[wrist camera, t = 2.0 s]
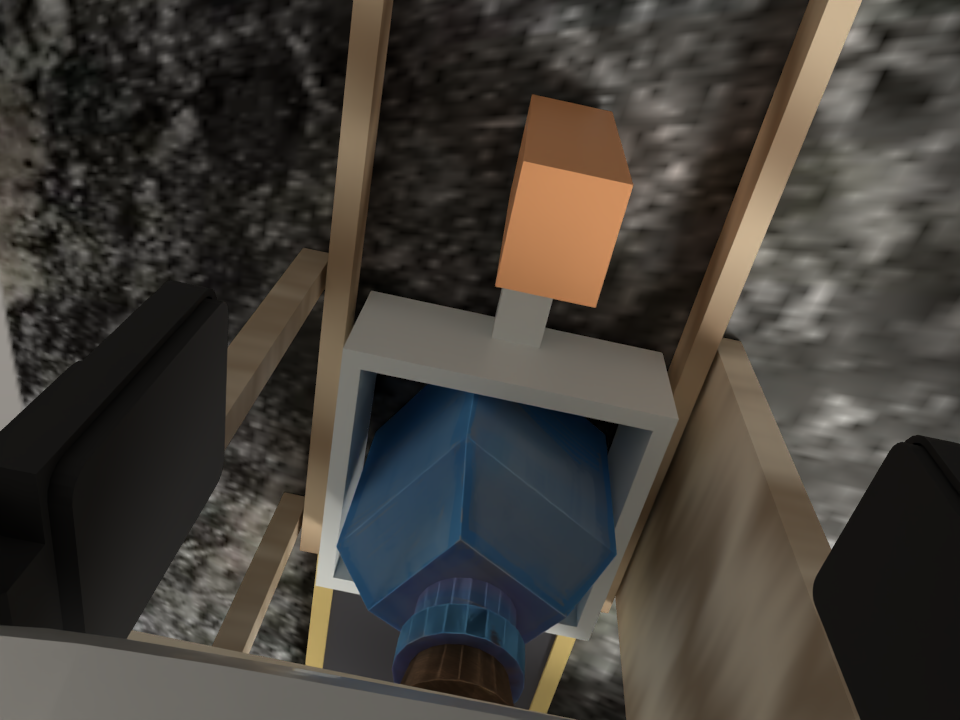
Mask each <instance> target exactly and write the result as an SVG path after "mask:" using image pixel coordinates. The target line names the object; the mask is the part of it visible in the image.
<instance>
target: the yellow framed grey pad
mask: <svg viewBox="0 0 960 720" xmlns="http://www.w3.org/2000/svg"><path fill="white" fill-rule="evenodd" d="M318 558H319V554H318ZM318 558H317V567H318ZM317 567H316V576H317ZM316 576H315V584H316ZM315 584H314V593H313V602H312V610H311V619H310V628H309V637H308V645H307V654H306V663H305V665H307V666H312V667H317V668H322V669H327V670H332V671H337V672H342V673H347V674H352V675H357V676H362V677H367V678H372V679H377V680H382V681H387V682H392V683H394V679H393V673H392V665H393V661H394V656H395V652H396V647H397V642H398V638H399V635H400V631H398V630H397V629H395V628H394V627H392V626H391V625H389V624H388V623H386V622H385V621H383V620H382V619H380V618H379V617H377V616H376V615H374V614H373V613H371V612H370V611H368V609H367V607H366V605H365V603H364V601H363V599H362V597H361V595H359V594H354V593H349V592H344V591H340V590H335V589H330V588H325V587H320V586H315ZM575 640H576V638H571V637H566V636H561V635H556V634H551V633H546V632H543V633H542V634H540V635H539V636H537V637H536V638H534V639H533V640H531V641H529V642H528V643H526V644H525V676H524V689H523V691H522V693H521V695H520V697H519V699H518V701H517V702H516V703H514V707H516V708H521V709H526V710H531V711H536V712H541V713H546V714H547V711H548V709H549V706H550V703H551V701H552V698H553V696H554V693H555V691H556V688H557V686H558V683H559V681H560V678H561V675H562V673H563V670H564V668H565V665H566V663H567V660H568V658H569V655H570V652H571V650H572V647H573V645H574V642H575Z"/></svg>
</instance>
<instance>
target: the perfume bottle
mask: <svg viewBox="0 0 960 720" xmlns="http://www.w3.org/2000/svg"><path fill="white" fill-rule="evenodd" d="M336 547H337V549H338V551H339V553H340V555H341V557H342V559H343V561H344V563H345V565H346V567H347V569H348V571H349V573H350V575H351V577H352V579H353V581H354V583H355V585H356V587H357V589H358V591H359V593H360V595H361V597H362V599H363V601H364V603H365V605H366V607H367V609H368V611H370V612H371V613H373V614H374V615H376V616H377V617H379V618H380V619H382V620H383V621H385V622H386V623H388V624H389V625H391V626H392V627H394V628H395V629H397V630H398V631H400V635H399V638H398V642H397V647H396V652H395V656H394V661H393V665H392V673H393V679H394V683H397V684H402V685H407V686H412V687H417V688H422V689H427V690H432V691H437V692H442V693H447V694H452V695H457V696H462V697H467V698H472V699H477V700H481V701H486V702H491V703H496V704H501V705H506V706H511V707H514V703H516V702H517V701H518V699H519V697H520V695H521V693H522V691H523V689H524V676H525V644H526V643H528V642H529V641H531V640H533V639H534V638H536V637H537V636H539V635H540V634H542V633H543V632H545V631H547V630H548V629H550V628H551V627H553V626H554V625H556V624H557V623H559V622H561V621H562V620H564V619H565V618H567V616H568V615H569V614H570V613H571V611H572V610H573V609H574V608H575V606H576V605H577V604H578V603H579V601H580V600H581V599H582V598H583V596H584V595H585V594H586V593H587V591H588V590H589V589H590V588H591V586H592V585H593V584H594V583H595V581H596V580H597V579H598V578H599V577H600V575H601V574H602V573H603V572H604V570H605V569H606V568H607V567H608V565H609V564H610V563H611V562H612V560H613V559H614V558H615V557H616V555H617V549H616V539H615V529H614V518H613V508H612V498H611V487H610V477H609V467H608V456H607V446H606V435H605V434H604V433H602V432H601V431H600V430H599V429H598V428H597V427H595V426H594V425H593V424H592V423H591V422H590V421H588V420H587V419H586V418H585V417H584V416H579V415H575V414H570V413H565V412H560V411H556V410H551V409H546V408H541V407H537V406H532V405H527V404H522V403H518V402H513V401H508V400H503V399H499V398H494V397H489V396H484V395H480V394H475V393H470V392H465V391H461V390H456V389H451V388H446V387H442V386H437V385H432V384H427V385H426V386H425V387H424V388H423V389H422V390H421V391H420V392H418V393H417V394H416V395H415V396H414V397H413V398H412V399H411V400H410V401H409V402H408V403H407V404H405V405H404V406H403V407H402V408H401V409H400V410H399V411H398V412H397V413H396V414H395V415H394V416H392V417H391V418H390V419H389V420H388V421H387V422H386V423H385V424H384V425H383V426H382V427H381V428H379V429H378V430H377V431H376V433H375V436H374V439H373V442H372V444H371V447H370V450H369V453H368V456H367V459H366V462H365V465H364V468H363V470H362V473H361V476H360V479H359V482H358V485H357V488H356V491H355V494H354V496H353V499H352V502H351V505H350V508H349V511H348V514H347V517H346V520H345V522H344V525H343V528H342V531H341V534H340V537H339V540H338V543H337V546H336Z"/></svg>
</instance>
